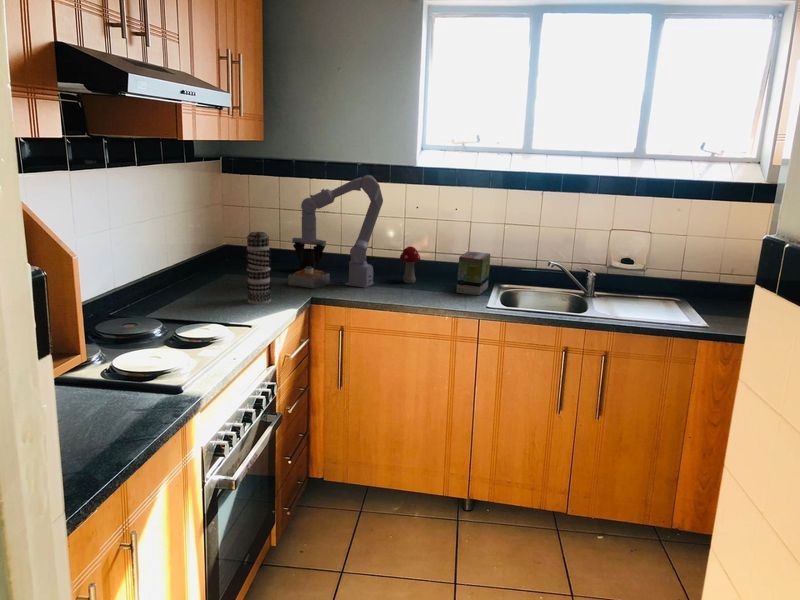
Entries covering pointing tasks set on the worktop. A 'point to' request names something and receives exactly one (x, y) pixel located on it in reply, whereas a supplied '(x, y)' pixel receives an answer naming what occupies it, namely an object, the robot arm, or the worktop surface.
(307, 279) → the housing
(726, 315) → the worktop surface
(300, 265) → the mug
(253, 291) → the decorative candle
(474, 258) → the tea box
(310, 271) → the canister
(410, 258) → the decorative mushroom
